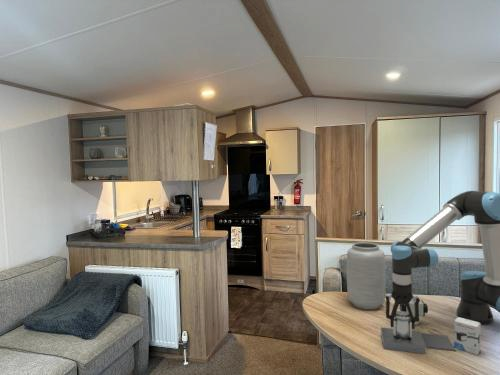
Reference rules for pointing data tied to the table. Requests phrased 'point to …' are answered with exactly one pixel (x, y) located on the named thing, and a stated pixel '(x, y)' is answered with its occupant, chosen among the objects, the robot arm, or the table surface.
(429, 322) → the table surface
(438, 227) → the robot arm
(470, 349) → the ink box
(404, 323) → the grey bottle
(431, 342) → the mat
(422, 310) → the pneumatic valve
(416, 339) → the frame
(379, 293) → the vase
